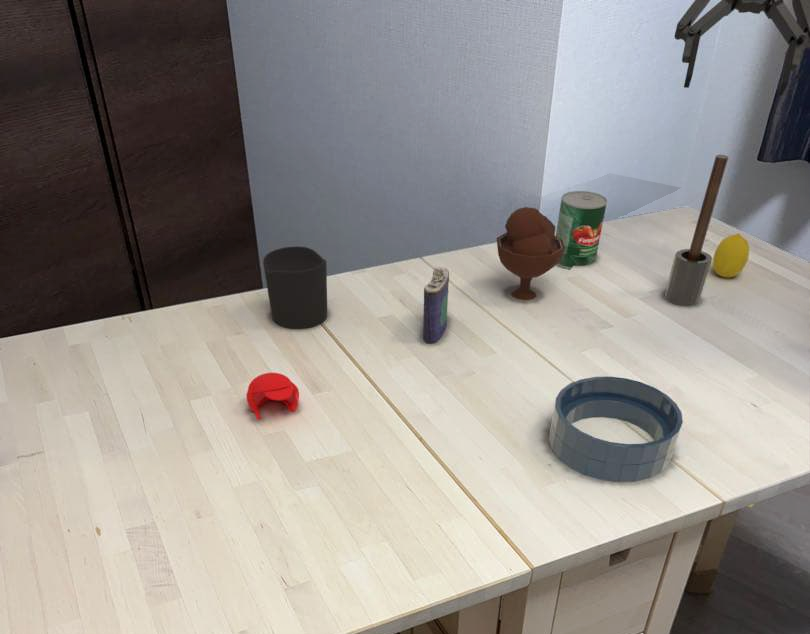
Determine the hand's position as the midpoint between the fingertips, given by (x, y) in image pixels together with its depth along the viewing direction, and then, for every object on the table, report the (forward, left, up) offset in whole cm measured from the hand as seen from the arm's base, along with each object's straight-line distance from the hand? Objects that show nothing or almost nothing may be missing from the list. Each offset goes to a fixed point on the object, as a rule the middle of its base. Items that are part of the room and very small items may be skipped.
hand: (734, 86), depth 112 cm
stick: (-2, +10, -29) cm, 31 cm away
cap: (+40, +69, -30) cm, 86 cm away
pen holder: (+51, +45, -30) cm, 75 cm away
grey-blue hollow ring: (-2, +56, -30) cm, 64 cm away
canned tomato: (+19, +2, -30) cm, 36 cm away
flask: (+30, +39, -30) cm, 58 cm away
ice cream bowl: (+22, +21, -30) cm, 43 cm away
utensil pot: (-2, +10, -30) cm, 32 cm away
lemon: (-7, -3, -30) cm, 31 cm away
